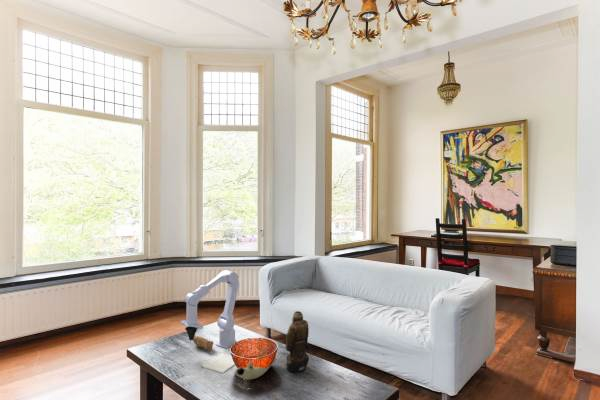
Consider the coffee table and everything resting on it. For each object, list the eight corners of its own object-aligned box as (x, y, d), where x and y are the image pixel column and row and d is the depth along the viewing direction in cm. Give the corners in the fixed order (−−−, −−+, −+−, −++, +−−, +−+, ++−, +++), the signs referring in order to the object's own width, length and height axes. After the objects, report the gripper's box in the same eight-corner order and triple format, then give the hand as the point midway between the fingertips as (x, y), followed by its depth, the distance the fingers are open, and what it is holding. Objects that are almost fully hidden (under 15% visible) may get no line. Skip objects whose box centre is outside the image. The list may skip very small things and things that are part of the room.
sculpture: (299, 362, 188) (297, 306, 189) (313, 370, 178) (311, 310, 179) (279, 368, 180) (278, 310, 182) (293, 377, 170) (291, 315, 172)
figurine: (213, 351, 197) (196, 353, 205) (216, 336, 202) (200, 339, 210) (201, 347, 192) (185, 349, 200) (205, 332, 197) (189, 335, 205)
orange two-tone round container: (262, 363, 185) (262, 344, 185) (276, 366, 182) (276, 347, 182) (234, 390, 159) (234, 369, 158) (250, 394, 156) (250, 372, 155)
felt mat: (221, 354, 194) (221, 353, 194) (241, 359, 188) (241, 358, 188) (201, 366, 180) (201, 365, 180) (222, 373, 173) (222, 372, 173)
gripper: (176, 315, 191) (176, 339, 191) (196, 319, 185) (196, 345, 185) (186, 311, 198) (185, 335, 198) (205, 315, 191) (205, 340, 191)
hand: (191, 339), depth 192 cm, fingers closed
